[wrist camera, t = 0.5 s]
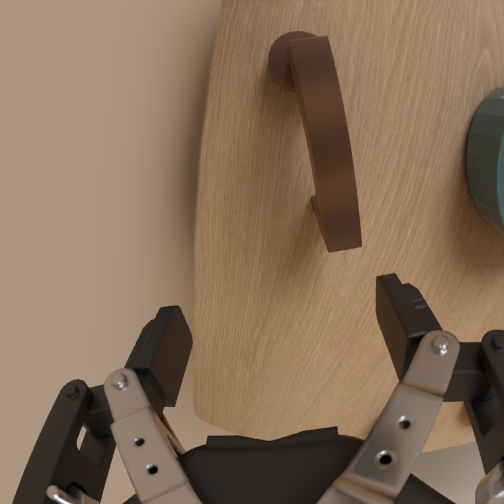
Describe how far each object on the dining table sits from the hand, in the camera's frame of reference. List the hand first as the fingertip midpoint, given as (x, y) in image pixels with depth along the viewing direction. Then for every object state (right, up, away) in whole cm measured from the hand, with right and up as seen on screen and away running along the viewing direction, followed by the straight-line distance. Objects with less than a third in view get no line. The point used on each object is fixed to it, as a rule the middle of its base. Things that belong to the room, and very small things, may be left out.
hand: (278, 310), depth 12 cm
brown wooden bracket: (+4, +13, +13) cm, 19 cm away
